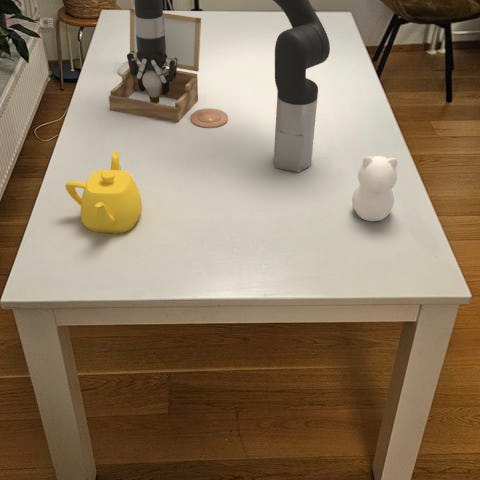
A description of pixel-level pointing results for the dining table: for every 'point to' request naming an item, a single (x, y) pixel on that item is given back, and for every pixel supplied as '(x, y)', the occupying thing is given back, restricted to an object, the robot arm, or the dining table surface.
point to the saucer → (209, 118)
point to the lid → (176, 39)
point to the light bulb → (152, 85)
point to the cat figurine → (375, 188)
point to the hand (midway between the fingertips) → (154, 92)
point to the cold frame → (179, 88)
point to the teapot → (108, 199)
